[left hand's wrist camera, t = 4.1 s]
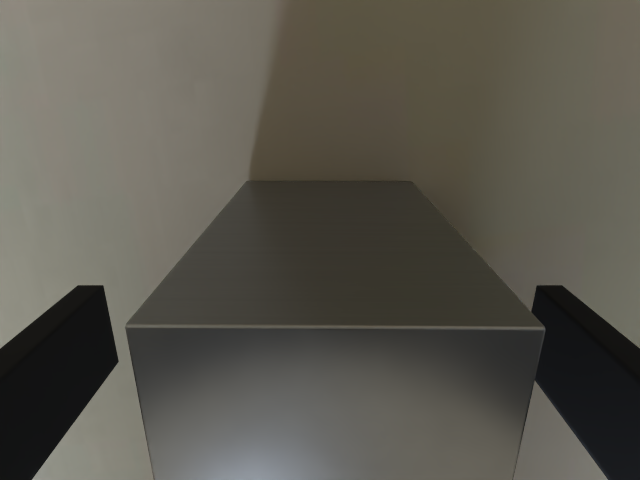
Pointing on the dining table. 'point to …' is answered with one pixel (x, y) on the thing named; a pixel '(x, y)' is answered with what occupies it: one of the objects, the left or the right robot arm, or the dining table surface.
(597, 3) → the dining table surface
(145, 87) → the dining table surface
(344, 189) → the bar
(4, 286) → the dining table surface
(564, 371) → the left robot arm
